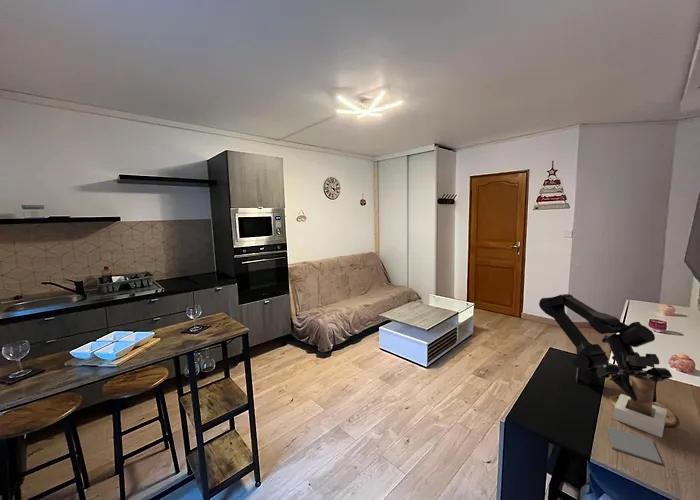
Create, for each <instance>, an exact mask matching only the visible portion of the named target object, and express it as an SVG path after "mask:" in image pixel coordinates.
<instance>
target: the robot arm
mask: <svg viewBox="0 0 700 500" xmlns="http://www.w3.org/2000/svg"><path fill="white" fill-rule="evenodd" d="M538 306H539V308H540V309H541V310H542V311H543V313H544V314H546V315H548V316H550V317H551V318H553V319H554V321H555V322H556V323H557V325H558V326H559V327H560V329H561V330H562V331H563V333H564V334H565V335H566V336H567V337H568V339H569V340H570V342H571V343H572V344H573V345H574V346H575V350H576V356H577V357H576V358H574V359H572V364H573V366H574V367H575V368H576V375H575V380H576V384H579V385H583V386H586V387H589V388H590V387H591V388H593V389H594V388H595V389H599V385H600V382H601V380H600V379H601V378H602V379H608V378H609V381H612V382H614V384H616V385H617V386H618V387H619V388H620V389H621V390H622V391H623V392H625V394H626V396H629V397H630V398H631V399H632V400H633V401H637V399H636V395H635V393H634V391H633V389H632V383H630V377H633V376H636V375H637V376H643V377H647V378H649V379H651V380H653V381H654V382H655V387H654V395H653V403H657V384H658V382H663V381H666V380H669V379H670V378H673V375H672V373H671V371H670V370H669V369H668V368H666V367H656V366H655V365H660V359H659V358H658V356H657V353H646V354H645V355H640V353H639V352H638V351H634V348H638V347H640V346H644V345H646V344H649V343H652V342H654V341H655V339H656V337H655V333H654V332H653V331H652V330H650V329H649V328H648V327H647V326H645V325H643V324H641V322H640V321H633V322H631V323H630V324H626V323H624V322H622V321H621V320H620V319H619V318H617V317H616V316H613V315H611V314H607V313H604V312H601V311H598V310H595V309H594V308H593V307H590V306H589V305H587V304H585V302H583V301H581V300H579V299H577V298H576V297H574V296H573V295H572V294H570V293H566V294H565V293H564V294H559V295H556V296H552V297H550V296H549V297H542V298H540V300H539V303H538ZM566 308H567V309H569V310H571V311H572V312H574V313H575V314H577V315H578V316H580V317H581V318H583V319H584V320H586V321H587V322H588V323H589V326H590V327H591V328H592V329H593V330H595V331H596V332H597V333H599V334H602V335H604V336H603V338H602V340H601V343H605V344H608V345H609V348H610V350H611V353H612V355H613V356H611V359H612V360H613V361H615V363H616V364H617V365H616V364H609V357H608V356H607V352H606V351H604V349H603V348H602V347H601V345H599V343H591V342H590V341H589V340H588V339H587V338H586V337H585V335H584V334H583V332H581V330H580V329H579V328H578V326H576V324H575V323H574V322H573V321H572V319H571V318H570V316H568V314H567V313H566ZM607 334H610V335H607ZM648 367H650V368H649V369H648ZM645 369H647V370H645Z"/></svg>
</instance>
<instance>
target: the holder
mask: <svg viewBox="0 0 700 500" xmlns="http://www.w3.org/2000/svg"><path fill="white" fill-rule="evenodd" d="M629 406H630V397H629V396H628V395H627V394H626V395H625V394H623V393H620V395H619V396H618V398H617V401H616V402H615V405H614V407H613V414H612V415H613V416H612V420H615V421H618V422H621V423H623V424H625V425H628V426H630V427H633V428H636V429H639V430H640V431H643V432H646V433H649V434H651V435H653V436H657V437H659V438H661V439H662V438H663V435H664V429H665V425H666V419H667V414H668V413H667V411H668V409H667V408H663V407H661V406H657V405H654V404H652V411H651V417H649V416H647V415H644V414H641V413H638V412H636V411H633V410H630V409H629Z"/></svg>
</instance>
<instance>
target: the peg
mask: <svg viewBox="0 0 700 500" xmlns="http://www.w3.org/2000/svg"><path fill="white" fill-rule="evenodd" d="M631 386H632V389H633V391H634V393H635V395H636V399H637V401H633V400H632V399H631V398H630V406H629V409H630V410H633V411H636V412H638V413H641V414H644V415H647V416H649V417H651V411H652V405H653V403H654V402H653V395H654V387H655V382H654V381H653V380H651V379H649V378H647V377H643V376H637V375H636V376H632V382H631Z"/></svg>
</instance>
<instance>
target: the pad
mask: <svg viewBox="0 0 700 500" xmlns="http://www.w3.org/2000/svg"><path fill="white" fill-rule="evenodd" d="M606 430H607V434H608V437H609V441H610V446H611V449H613V450H616V451H619V452H620V453H621V452H622V453H624V454H628V455H631V456H634V457H637V458H640V459H643V460H646V461H649V462H653V463H655V464H658V465H662V466H663V462H662V460H661V457H660V455H659V452H658V450H657V448H656V446H655V443H654V441H653V438H649V437H646V436H642V435H639V434H635V433H632V432H629V431H626V430H625V431H624V430H622V429H619V428H615V427H612V426H609V425H606Z"/></svg>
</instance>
